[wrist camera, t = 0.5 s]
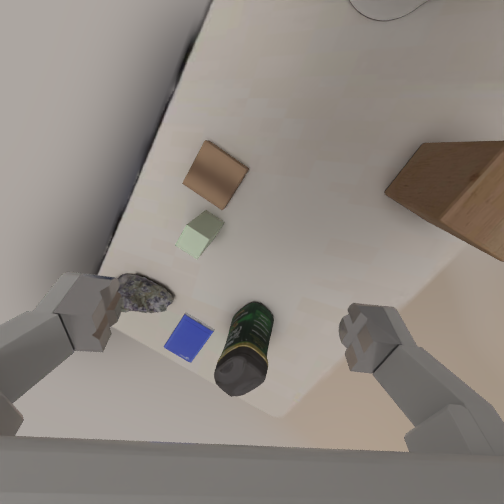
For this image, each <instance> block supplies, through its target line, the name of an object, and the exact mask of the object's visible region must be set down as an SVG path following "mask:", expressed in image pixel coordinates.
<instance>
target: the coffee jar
mask: <svg viewBox="0 0 504 504" xmlns="http://www.w3.org/2000/svg"><path fill="white" fill-rule="evenodd" d="M273 321H274V319H273V316H272V314H271V313H270V311H269V310H268V309H267V308H266V307H264V306H263V305H261V304H259V303H250V304H248V305H247V306H245V307H243V308H242V309H241V310H240V311H239V312H237V313H236V315H235V316H234V317H233V319H232V322H231V326H230V330H229V334H228V338H227V341H226V344H225V347H224V350H223V352H222V354H221V356H220V358H219V360H218V362H217V366H216V369H215V373H214V378H215V382H216V384H217V385H218V386H219V387H220V388H221V389H222V390H223V391H224V392H226V393H227V394H228V395H230V396H241V395H244V394H246V393H248V392H250V391H251V390H253V389H255V388H256V387H258V386H259V385H260V384H262V383H263V382H264V380H265V378H266V374H267V370H268V360H267V351H268V346H269V340H270V336H271V332H272V327H273Z"/></svg>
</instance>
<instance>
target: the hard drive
mask: <svg viewBox="0 0 504 504" xmlns="http://www.w3.org/2000/svg"><path fill="white" fill-rule="evenodd" d="M213 332H214V329H213V328H211V327H209V326H208V325H206V324H204V323H203V322H201V321H199V320H198V319H196V318H194V317H193V316H191V315H189V314H188V313H185V315H184V316H183V318H182V319H181V321H180V322H179V324H178V325H177V327H176V328H175V330H174V332H173V333H172V335H171V336H170V338H169V339H168V341H167V343H166V344H165V346H164V347H165V348H166V349H167V350H169V351H171V352H173V353H174V354H176V355H178V356H179V357H181V358H183V359H185V360H186V361H188V362H192V361H193V359H194V358H195V356H196V355H197V354H198V352H199V351H200V350H201V348H202V347H203V345H204V344H205V343H206V341H207V340H208V339H209V337H210V336H211V334H212V333H213Z"/></svg>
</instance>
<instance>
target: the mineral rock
mask: <svg viewBox="0 0 504 504" xmlns="http://www.w3.org/2000/svg"><path fill="white" fill-rule="evenodd" d="M118 281H119V285H120V286H119V288H118V290H117V291H118V292H119V293H120V294H121V295H122V309H121V312H128V311H139V312H144V313H147V312H149V313H154V312H163V311H166V309H167V307H168V305H170V304H171V303H172V302H173V297H172V295H171V294H170V293H169V292H167V290H166V289H165V288H163V287H162V286H160V285H158V284H156V283H154V282H153V281H150V280H148V279H147V278H146V277H140V276H138V275H130V274H125V275H121V276H120V277H118Z"/></svg>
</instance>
